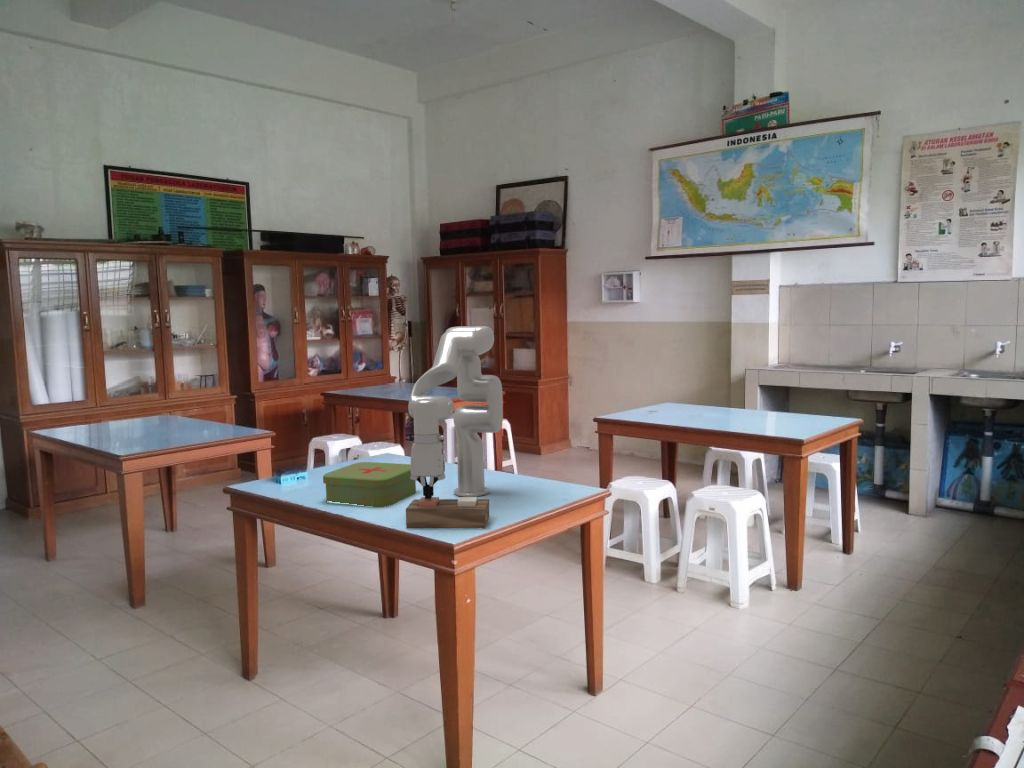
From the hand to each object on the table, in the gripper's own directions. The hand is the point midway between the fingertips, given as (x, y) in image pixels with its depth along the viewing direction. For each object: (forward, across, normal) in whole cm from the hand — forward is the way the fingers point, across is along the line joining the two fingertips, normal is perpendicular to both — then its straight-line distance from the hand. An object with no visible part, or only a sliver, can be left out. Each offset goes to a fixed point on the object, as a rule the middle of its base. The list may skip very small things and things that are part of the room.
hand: (428, 498), depth 233 cm
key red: (+5, 0, 0) cm, 5 cm away
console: (+8, -6, 0) cm, 10 cm away
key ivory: (+5, -12, 0) cm, 13 cm away
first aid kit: (+8, +27, -34) cm, 44 cm away
